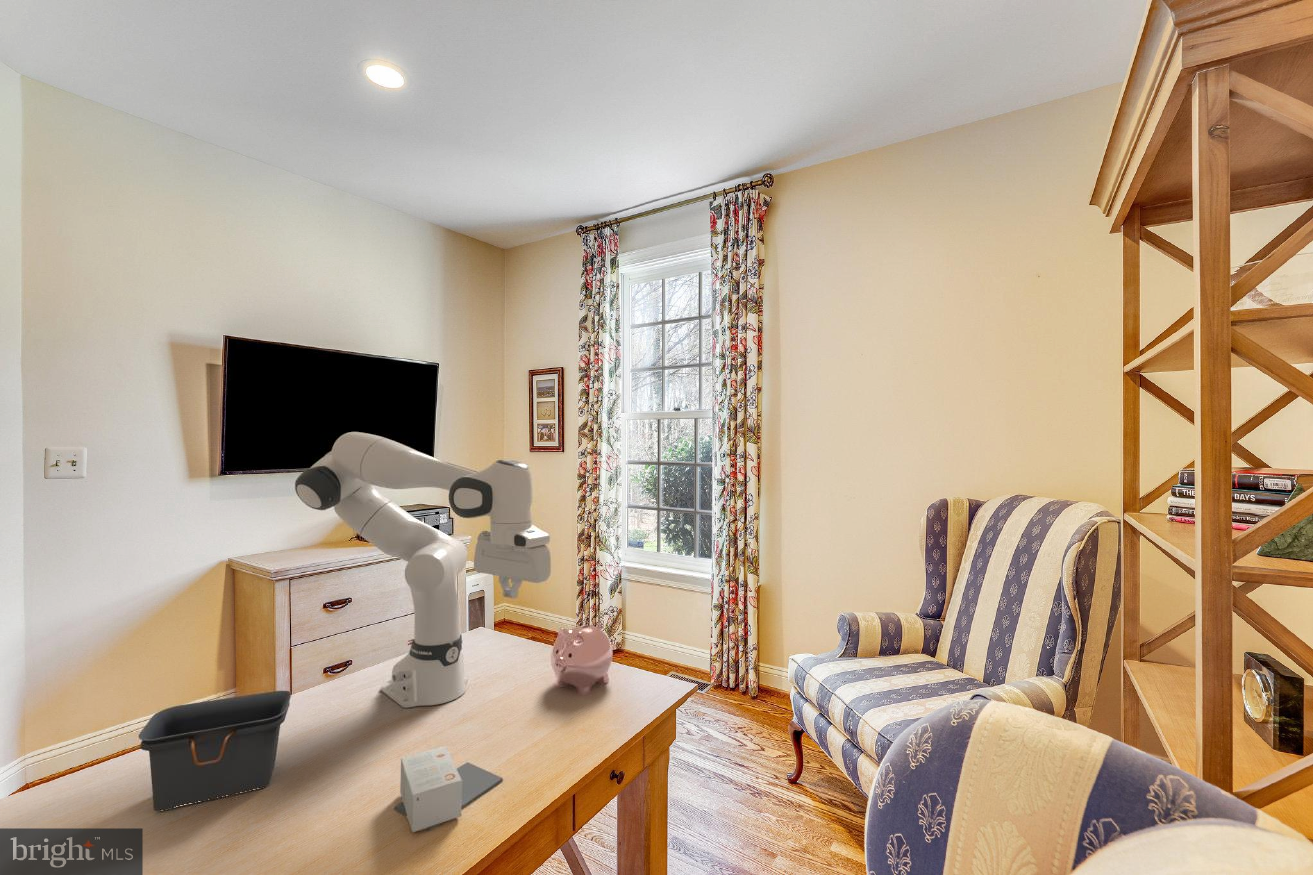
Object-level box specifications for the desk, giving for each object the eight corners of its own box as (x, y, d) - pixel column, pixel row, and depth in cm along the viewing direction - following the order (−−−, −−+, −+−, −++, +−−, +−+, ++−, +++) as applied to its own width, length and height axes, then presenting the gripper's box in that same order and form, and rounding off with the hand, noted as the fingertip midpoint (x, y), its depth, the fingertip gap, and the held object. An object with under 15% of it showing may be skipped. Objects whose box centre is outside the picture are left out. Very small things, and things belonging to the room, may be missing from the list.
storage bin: (291, 755, 113) (293, 685, 113) (282, 798, 100) (284, 719, 100) (156, 784, 103) (158, 708, 103) (125, 837, 89) (127, 749, 90)
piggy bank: (535, 690, 144) (536, 629, 144) (579, 666, 159) (580, 611, 160) (581, 705, 136) (582, 640, 136) (623, 679, 151) (623, 621, 152)
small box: (399, 791, 101) (411, 834, 90) (400, 757, 101) (411, 795, 90) (445, 778, 105) (462, 816, 94) (446, 744, 106) (462, 779, 95)
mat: (394, 809, 97) (394, 806, 97) (467, 764, 111) (467, 761, 111) (430, 830, 92) (430, 827, 92) (502, 780, 105) (502, 777, 105)
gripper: (467, 531, 123) (466, 593, 123) (535, 540, 113) (534, 608, 112) (489, 528, 129) (488, 587, 128) (555, 536, 118) (554, 600, 118)
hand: (510, 597), depth 120 cm, fingers closed
